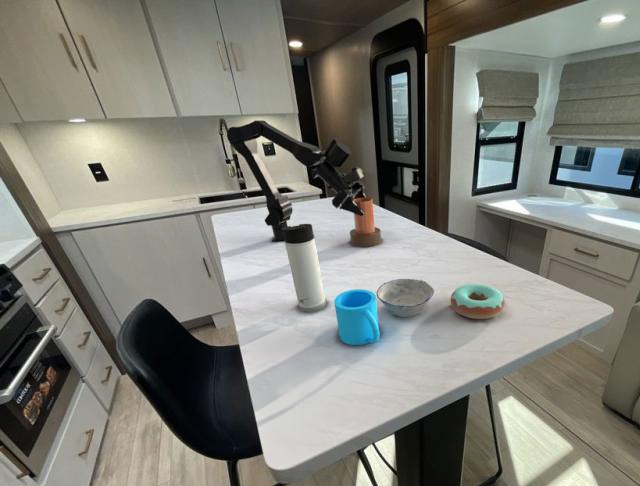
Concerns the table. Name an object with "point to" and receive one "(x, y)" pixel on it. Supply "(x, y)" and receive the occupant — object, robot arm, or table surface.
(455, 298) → the donut
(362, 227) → the cup
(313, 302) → the travel mug
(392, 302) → the bowl
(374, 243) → the stand
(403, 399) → the table surface
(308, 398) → the table surface
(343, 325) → the mug
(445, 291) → the table surface
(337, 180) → the robot arm
